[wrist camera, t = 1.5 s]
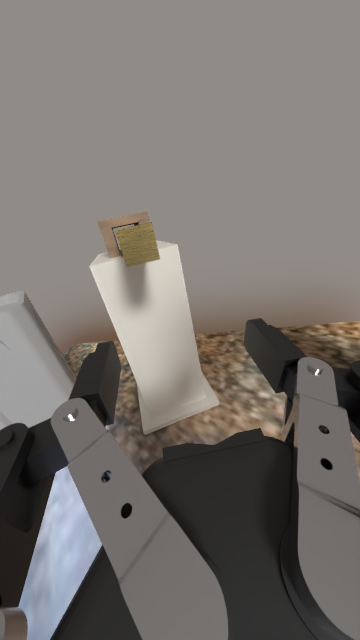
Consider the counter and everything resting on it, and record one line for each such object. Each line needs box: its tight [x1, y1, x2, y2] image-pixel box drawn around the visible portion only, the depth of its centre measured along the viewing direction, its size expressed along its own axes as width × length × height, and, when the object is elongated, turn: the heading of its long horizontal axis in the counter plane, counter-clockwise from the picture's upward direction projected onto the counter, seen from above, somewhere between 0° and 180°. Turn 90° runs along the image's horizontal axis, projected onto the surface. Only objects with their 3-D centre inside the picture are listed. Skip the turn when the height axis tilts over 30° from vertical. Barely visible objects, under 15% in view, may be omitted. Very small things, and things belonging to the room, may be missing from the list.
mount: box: [89, 212, 219, 435], centre depth 39 cm, size 20×16×37 cm
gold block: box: [115, 222, 160, 267], centre depth 27 cm, size 24×3×3 cm, turn 17°
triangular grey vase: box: [0, 291, 77, 430], centre depth 39 cm, size 19×15×28 cm
